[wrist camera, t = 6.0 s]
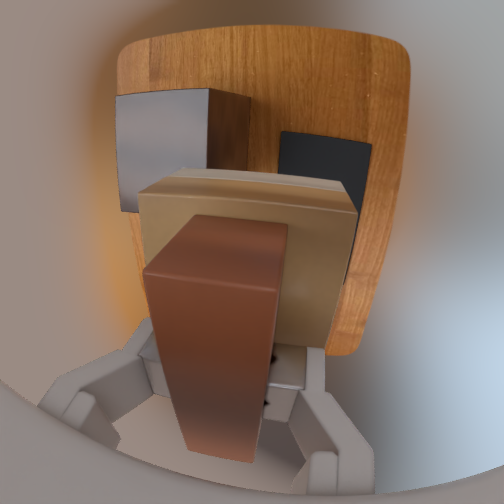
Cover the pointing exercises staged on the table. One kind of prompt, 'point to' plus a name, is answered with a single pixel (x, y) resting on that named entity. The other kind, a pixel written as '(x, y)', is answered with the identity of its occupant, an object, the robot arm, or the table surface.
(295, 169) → the mat
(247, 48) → the table surface
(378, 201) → the table surface
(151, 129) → the riser
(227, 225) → the stepped wooden block
